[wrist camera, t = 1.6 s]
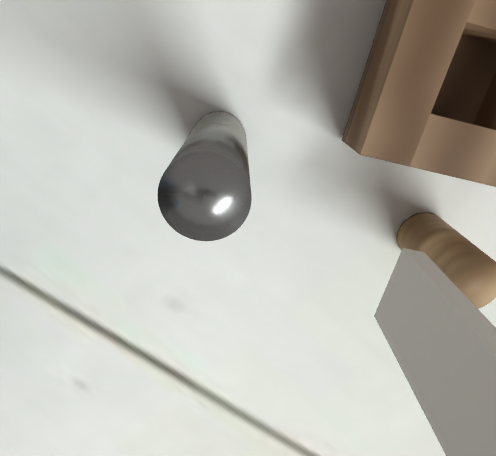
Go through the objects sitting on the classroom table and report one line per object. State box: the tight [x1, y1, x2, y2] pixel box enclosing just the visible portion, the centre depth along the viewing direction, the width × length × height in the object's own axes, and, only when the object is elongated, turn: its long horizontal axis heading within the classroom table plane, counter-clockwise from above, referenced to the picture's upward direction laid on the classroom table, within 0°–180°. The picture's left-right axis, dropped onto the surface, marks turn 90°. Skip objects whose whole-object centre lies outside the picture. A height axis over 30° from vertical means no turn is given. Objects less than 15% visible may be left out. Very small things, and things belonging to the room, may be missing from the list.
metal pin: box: [158, 112, 251, 241], centre depth 24 cm, size 4×4×14 cm
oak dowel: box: [397, 213, 496, 309], centre depth 30 cm, size 4×4×8 cm
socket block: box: [342, 0, 496, 187], centre depth 26 cm, size 12×12×5 cm
